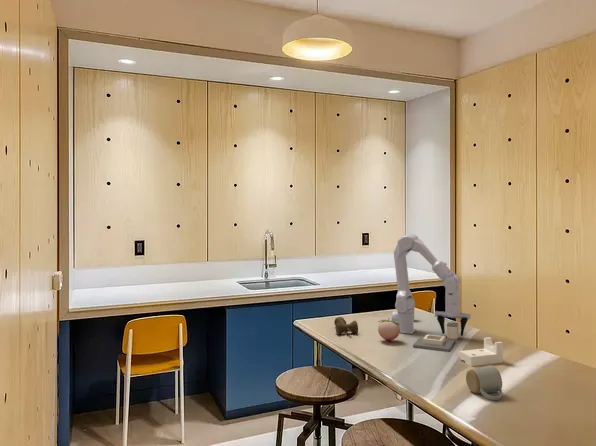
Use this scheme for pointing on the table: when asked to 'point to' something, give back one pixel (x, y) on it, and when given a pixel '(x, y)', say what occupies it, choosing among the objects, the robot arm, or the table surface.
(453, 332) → the block
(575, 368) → the table surface
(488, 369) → the ceramic mug
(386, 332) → the decorative fruit
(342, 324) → the kendama
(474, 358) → the bracket
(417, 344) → the outlet plate
